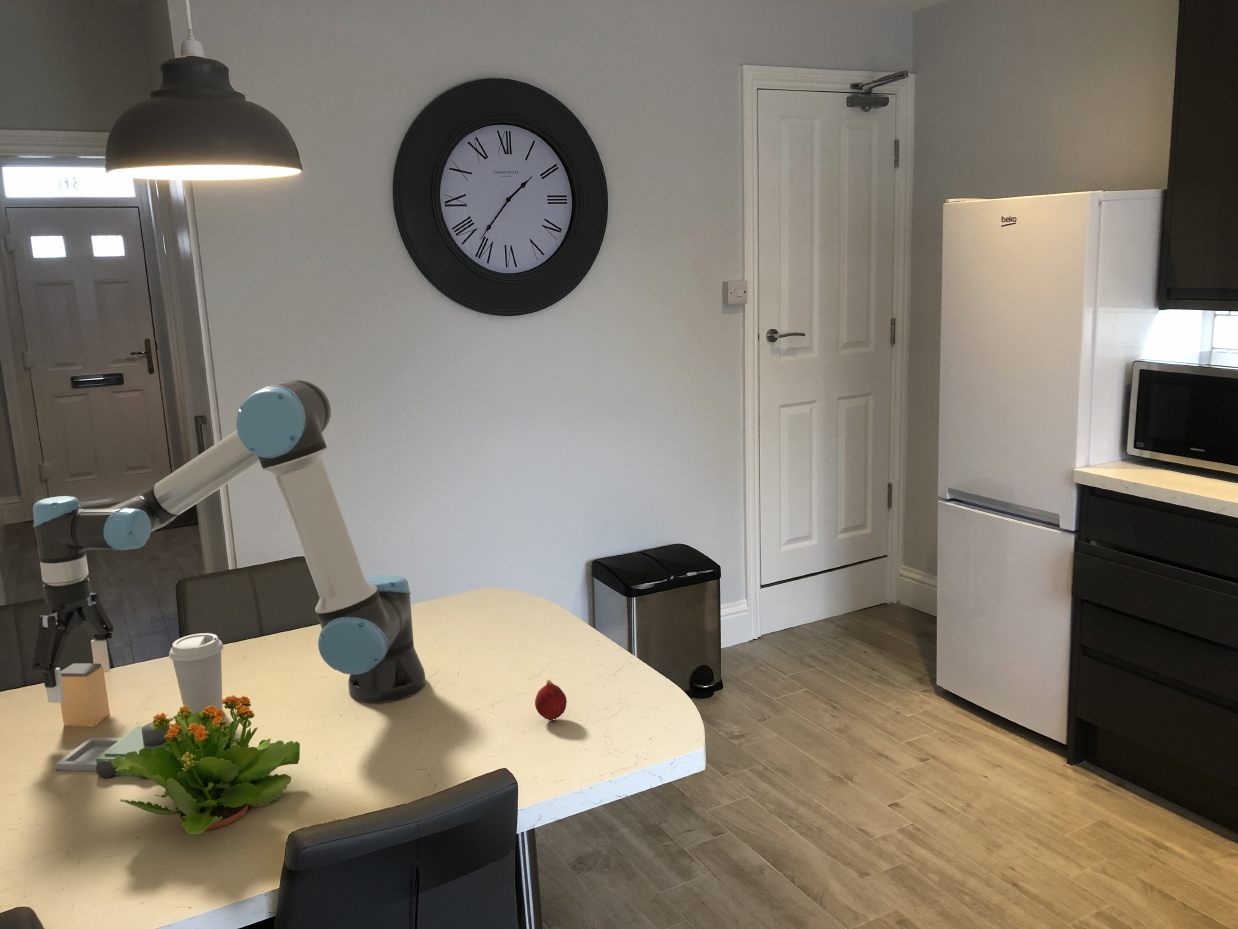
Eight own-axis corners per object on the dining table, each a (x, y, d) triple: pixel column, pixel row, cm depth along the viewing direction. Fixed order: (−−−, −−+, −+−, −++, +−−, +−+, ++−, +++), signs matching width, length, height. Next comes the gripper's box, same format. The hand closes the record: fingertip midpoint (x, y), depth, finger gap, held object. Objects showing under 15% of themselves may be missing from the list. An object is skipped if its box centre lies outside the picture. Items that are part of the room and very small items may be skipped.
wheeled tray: (199, 739, 173) (195, 708, 172) (156, 779, 160) (151, 746, 158) (98, 737, 175) (94, 707, 174) (47, 777, 161) (42, 744, 160)
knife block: (109, 714, 185) (102, 663, 183) (93, 726, 180) (85, 673, 178) (80, 714, 185) (73, 663, 183) (63, 726, 180) (55, 673, 178)
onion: (572, 716, 177) (571, 676, 176) (558, 730, 172) (556, 689, 171) (545, 711, 180) (543, 672, 178) (530, 725, 175) (528, 684, 173)
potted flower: (266, 859, 136) (252, 746, 133) (94, 872, 135) (77, 758, 131) (307, 770, 161) (297, 673, 157) (163, 780, 159) (150, 683, 156)
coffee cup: (211, 727, 178) (202, 651, 175) (166, 724, 180) (156, 649, 177) (241, 704, 187) (232, 632, 184) (197, 702, 189) (188, 630, 186)
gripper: (89, 559, 190) (102, 659, 194) (-2, 601, 165) (15, 715, 169) (124, 560, 189) (137, 660, 193) (38, 602, 165) (55, 716, 169)
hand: (80, 686), depth 181 cm, fingers open, 13 cm apart
